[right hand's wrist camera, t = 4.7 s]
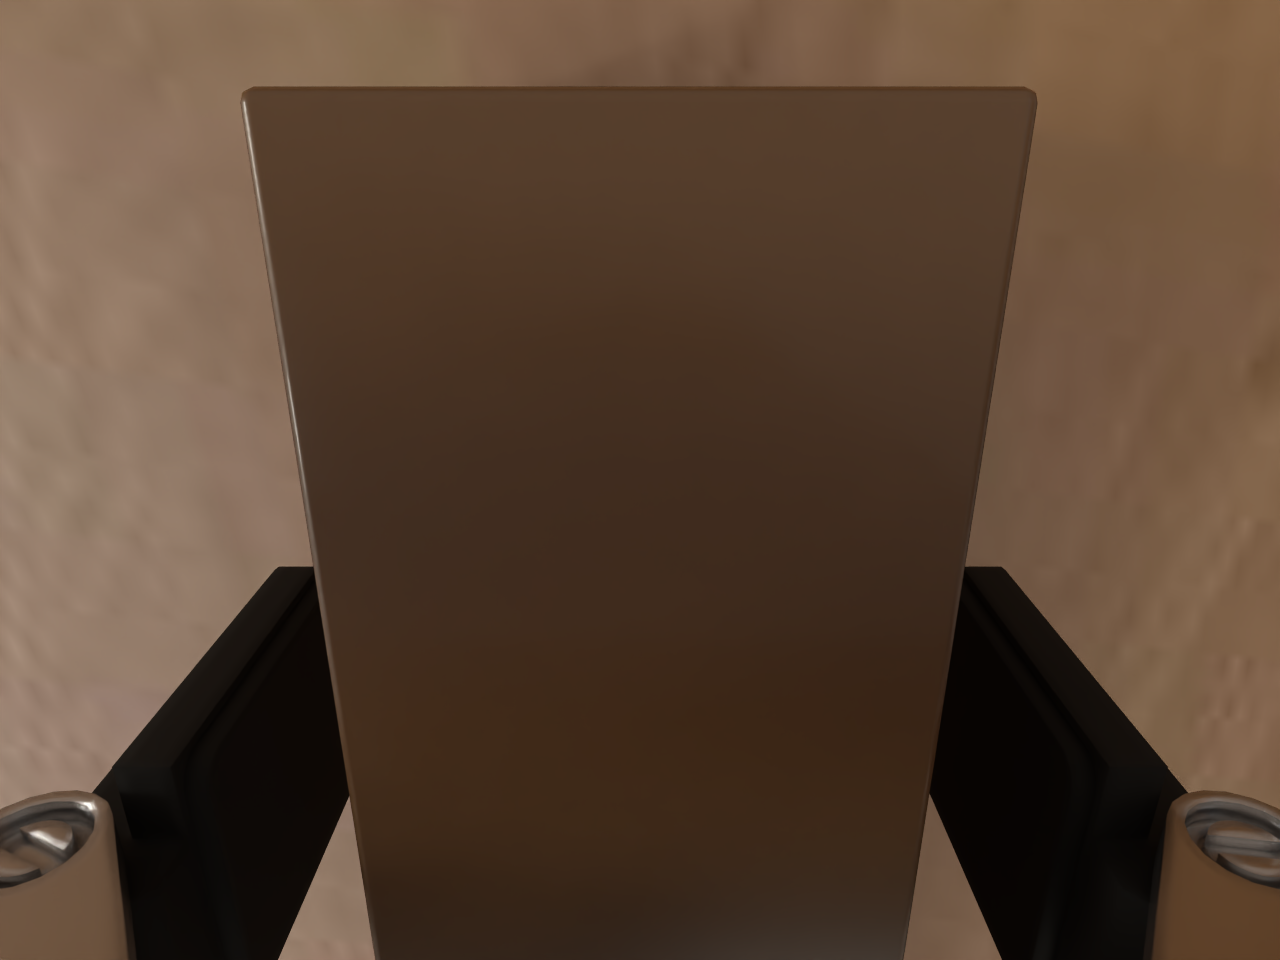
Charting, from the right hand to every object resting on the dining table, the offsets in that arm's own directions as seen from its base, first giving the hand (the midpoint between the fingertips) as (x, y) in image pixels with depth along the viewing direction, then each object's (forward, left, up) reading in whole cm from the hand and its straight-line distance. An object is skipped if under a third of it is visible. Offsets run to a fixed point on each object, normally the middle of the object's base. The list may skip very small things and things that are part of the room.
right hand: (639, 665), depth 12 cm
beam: (+19, -8, -3) cm, 21 cm away
